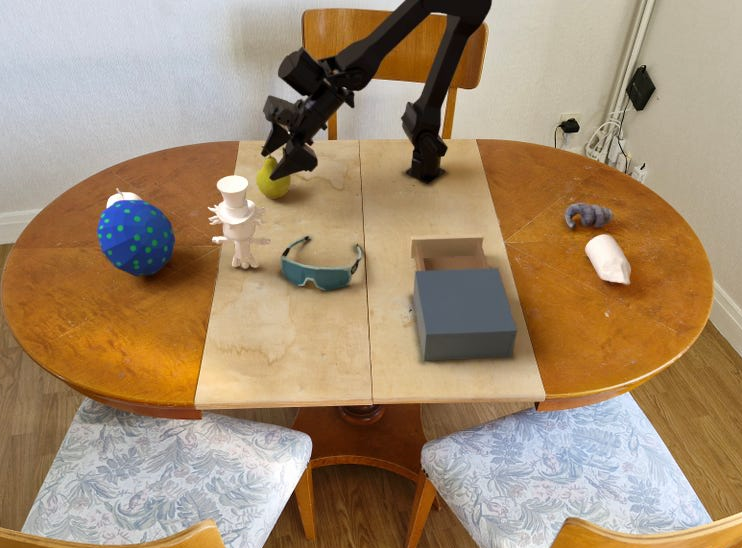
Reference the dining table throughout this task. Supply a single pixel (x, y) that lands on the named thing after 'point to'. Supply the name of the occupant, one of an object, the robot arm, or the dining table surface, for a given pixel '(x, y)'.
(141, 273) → the polka dot ball
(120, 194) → the plain white apple
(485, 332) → the cabinet
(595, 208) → the seashell
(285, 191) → the fruit
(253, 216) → the figurine
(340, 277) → the sunglasses
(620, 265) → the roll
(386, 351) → the dining table surface
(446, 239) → the drawer
